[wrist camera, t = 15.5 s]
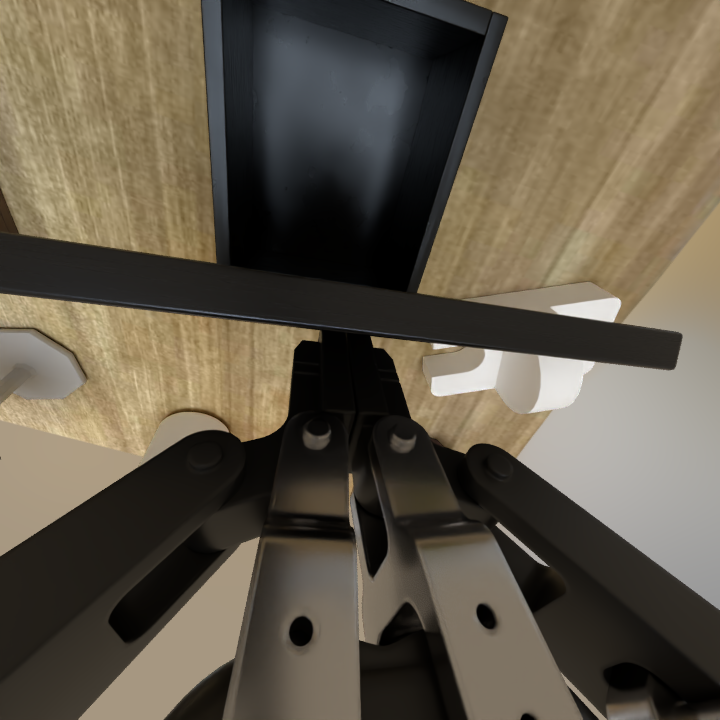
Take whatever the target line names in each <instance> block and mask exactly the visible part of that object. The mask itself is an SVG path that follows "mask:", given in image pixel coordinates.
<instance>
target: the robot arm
mask: <svg viewBox="0 0 720 720" xmlns="http://www.w3.org/2000/svg"><path fill="white" fill-rule="evenodd" d="M349 473H352V475H353V485H354V486H353V489H352V492H351V495H350V506H351V512H352V518H353V524H354V529H353V527H351V526H350V522H349ZM498 522H500V524H502V525H503V526H504V527H505V528H506V529H507V530H508V531H510V532H511V533H512V534H513V535H514V536H515V537H516V538H518V539H519V540H520V541H521V542H522V543H523V544H524V545H526V546H527V547H528V548H529V549H530V550H531V551H532V552H534V553H535V554H536V555H537V556H538V557H539V558H540V559H542V560H543V561H544V562H545V563H546V564H547V565H548V566H550V567H548V566H544V565H542V564H539V563H538V562H537V561H535V560H534V559H533V558H532V557H530V556H529V555H528V554H527V553H526V552H525V551H524V550H522V549H521V548H520V547H519V546H518V545H517V544H516V543H515V542H514V541H512V540H511V539H510V538H509V537H508V536H507V535H506V534H504V533H503V532H502V531H501V530H500V529H499V528H498V527H497V526H496V524H497V523H498ZM354 530H355V531H354ZM257 537H260V540H259V544H258V549H257V554H256V559H255V564H254V568H253V573H252V578H251V583H250V588H249V593H248V597H247V602H246V607H245V612H244V617H243V622H242V626H241V631H240V636H239V641H238V646H237V651H236V655H235V658H234V659H232V660H231V661H229V662H227V663H226V664H224V665H222V666H221V667H219V668H218V669H217V670H215V671H214V672H212V673H211V674H210V675H209V676H207V677H206V678H205V679H203V680H202V681H201V682H200V683H199V684H197V685H196V686H195V687H194V688H193V689H192V690H191V691H190V692H189V693H188V694H187V695H186V696H185V697H184V698H183V699H182V700H181V701H180V702H179V703H178V704H177V705H176V707H175V708H174V709H173V710H172V711H171V712H170V713H169V714H168V715H167V717H166V718H165V719H164V720H599V719H598V718H597V717H596V716H595V715H594V714H593V713H592V712H591V711H590V709H589V708H588V707H587V706H586V705H585V704H584V703H583V702H582V701H581V700H580V699H579V697H578V696H577V695H576V694H575V693H574V692H573V691H572V690H571V689H570V688H569V687H568V686H567V684H566V683H565V681H564V679H563V677H562V675H561V673H562V674H563V675H564V676H565V677H566V678H567V679H568V680H569V681H570V682H571V683H572V684H573V685H574V686H575V687H576V688H577V689H578V690H579V691H580V692H581V693H582V694H583V695H584V696H585V697H586V698H587V699H588V700H589V701H590V702H591V703H592V704H593V705H594V706H595V707H596V708H597V710H599V712H600V713H601V714H602V715H603V716H604V717H605V718H606V719H607V720H720V610H718V609H717V608H716V607H714V606H713V605H712V604H710V603H709V602H708V601H706V600H705V599H703V598H702V597H701V596H700V595H698V594H697V593H695V592H694V591H693V590H692V589H690V588H689V587H688V586H686V585H685V584H683V583H682V582H681V581H679V580H678V579H677V578H675V577H674V576H673V575H671V574H670V573H669V572H667V571H666V570H665V569H663V568H662V567H661V566H659V565H658V564H657V563H655V562H654V561H652V560H651V559H650V558H649V557H647V556H646V555H645V554H643V553H642V552H641V551H639V550H638V549H637V548H635V547H634V546H633V545H631V544H630V543H629V542H627V541H626V540H624V539H623V538H622V537H620V536H619V535H618V534H616V533H615V532H614V531H612V530H611V529H610V528H608V527H607V526H606V525H604V524H603V523H602V522H600V521H599V520H598V519H596V518H595V517H593V516H592V515H591V514H589V513H588V512H587V511H585V510H584V509H583V508H581V507H580V506H579V505H577V504H576V503H575V502H573V501H572V500H571V499H569V498H568V497H567V496H565V495H564V494H563V493H561V492H560V491H559V490H557V489H556V488H555V487H553V486H552V485H551V484H549V483H548V482H547V481H545V480H544V479H542V478H541V477H540V476H539V475H537V474H536V473H535V472H533V471H532V470H531V469H529V468H527V467H526V466H525V465H524V464H522V463H521V462H520V461H518V460H517V459H516V458H514V457H513V456H512V455H510V454H509V453H508V452H506V451H505V450H503V449H501V448H499V447H497V446H494V445H490V444H476V445H473V446H472V447H471V448H470V449H469V450H468V452H467V453H466V454H464V453H461V452H458V451H455V450H452V449H449V448H446V447H442V446H440V445H437V444H435V443H433V442H431V440H430V437H429V435H428V433H427V432H426V431H425V429H424V428H423V427H422V426H421V425H419V424H418V423H417V422H415V421H414V420H412V419H411V416H410V413H409V410H408V407H407V404H406V400H405V397H404V394H403V391H402V387H401V384H400V383H399V378H398V375H397V373H396V368H395V365H394V362H393V359H392V358H391V357H390V356H389V355H388V353H387V352H386V351H385V350H384V349H381V348H373V345H372V341H371V337H370V336H367V335H358V334H349V333H341V332H332V331H323V330H320V332H319V339H318V342H315V341H306V340H302V341H301V342H300V344H299V345H298V346H297V347H296V348H295V350H294V359H293V369H292V379H291V388H290V399H289V410H288V417H287V420H286V421H285V423H284V424H283V425H282V426H281V428H279V429H278V430H277V431H276V432H274V433H272V434H270V435H268V436H266V437H262V438H259V439H255V440H250V441H246V442H241V441H240V440H239V439H238V438H237V437H236V436H234V435H233V434H231V433H228V432H226V431H221V430H204V431H199V432H196V433H193V434H190V435H188V436H186V437H184V438H183V439H181V440H179V441H178V442H176V443H175V444H173V445H172V446H170V447H168V448H167V449H165V450H164V451H162V452H161V453H159V454H158V455H156V456H155V457H153V458H152V459H150V460H148V461H147V462H145V463H144V464H142V465H141V466H139V467H138V468H136V469H135V470H133V471H132V472H130V473H128V474H127V475H125V476H124V477H122V478H121V479H119V480H118V481H116V482H114V483H113V484H111V485H110V486H108V487H107V488H105V489H104V490H102V491H101V492H99V493H97V494H96V495H95V496H93V497H91V498H90V499H88V500H87V501H85V502H84V503H82V504H81V505H79V506H78V507H76V508H74V509H73V510H71V511H70V512H68V513H67V514H65V515H64V516H62V517H61V518H59V519H57V520H56V521H54V522H53V523H51V524H50V525H48V526H47V527H45V528H43V529H42V530H40V531H39V532H37V533H36V534H34V535H33V536H31V537H30V538H28V539H27V540H25V541H23V542H22V543H20V544H19V545H17V546H16V547H14V548H13V549H11V550H10V551H8V552H6V553H5V554H3V555H2V556H0V720H78V719H79V717H80V716H82V714H83V713H84V712H85V711H86V710H87V709H88V708H89V707H90V706H91V705H92V704H93V703H94V702H95V700H96V699H97V698H98V697H99V696H100V695H101V694H102V693H103V692H104V691H105V690H106V689H107V688H108V686H109V685H110V684H111V683H112V682H113V681H114V680H115V679H116V678H117V677H118V676H119V675H120V674H121V673H122V672H123V670H124V669H125V668H126V667H127V666H128V665H129V664H130V663H131V662H132V661H133V660H134V659H135V657H136V656H137V655H138V654H139V653H140V652H141V651H142V650H143V649H144V648H145V647H146V646H147V645H148V643H149V642H150V641H151V640H152V639H153V638H154V637H155V636H156V635H157V634H158V633H159V632H160V631H161V630H162V628H164V626H165V625H166V624H167V623H168V622H169V621H170V620H171V619H172V618H173V617H174V616H175V615H176V614H177V612H178V611H179V610H180V609H181V608H182V607H183V606H184V605H185V604H186V603H187V602H188V601H189V599H191V597H192V596H193V595H194V594H195V593H196V592H197V591H198V590H199V589H200V588H201V587H202V586H203V585H204V583H205V582H206V581H207V580H208V579H209V578H210V577H211V576H212V575H213V574H214V573H215V572H216V571H217V570H218V569H219V567H220V566H221V565H222V564H223V563H224V562H225V561H226V560H227V559H228V558H229V557H230V556H231V554H233V552H234V551H235V550H236V549H237V548H238V547H239V545H240V544H241V543H243V542H246V541H249V540H251V539H254V538H257ZM356 542H357V548H358V554H359V560H360V566H361V572H362V580H363V596H362V618H363V627H364V634H365V641H366V642H364V641H360V640H359V624H358V585H357V548H356Z"/></svg>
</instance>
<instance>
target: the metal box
mask: <svg viewBox="0 0 720 720" xmlns="http://www.w3.org/2000/svg"><path fill="white" fill-rule="evenodd" d="M201 12H202V28H203V45H204V61H205V78H206V94H207V111H208V127H209V144H210V161H211V177H212V194H213V210H214V227H215V243H216V260H217V264H224V265H230V266H237V267H244V268H251V269H257V270H264V271H271V272H277V273H284V274H291V275H298V276H304V277H311V278H318V279H325V280H331V281H338V282H345V283H351V284H358V285H365V286H372V287H378V288H385V289H392V290H398V291H405V292H412V293H417V291H418V288H419V285H420V282H421V279H422V276H423V273H424V270H425V267H426V264H427V261H428V258H429V255H430V252H431V249H432V246H433V243H434V240H435V237H436V234H437V231H438V228H439V225H440V222H441V219H442V216H443V213H444V210H445V207H446V204H447V201H448V198H449V195H450V192H451V189H452V186H453V183H454V180H455V177H456V174H457V171H458V168H459V165H460V162H461V159H462V156H463V153H464V150H465V147H466V144H467V141H468V138H469V135H470V132H471V129H472V126H473V123H474V120H475V117H476V114H477V111H478V108H479V105H480V102H481V99H482V96H483V93H484V90H485V87H486V84H487V81H488V78H489V75H490V72H491V69H492V66H493V63H494V60H495V57H496V54H497V51H498V48H499V45H500V42H501V39H502V36H503V33H504V30H505V27H506V24H507V21H508V17H507V16H505V15H502V14H499V13H497V12H492V10H489V9H486V8H484V7H481V6H478V5H475V4H473V3H470V2H467V1H464V0H201Z"/></svg>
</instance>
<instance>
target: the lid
mask: <svg viewBox="0 0 720 720" xmlns="http://www.w3.org/2000/svg"><path fill="white" fill-rule="evenodd" d="M0 293H3V294H11V295H20V296H29V297H37V298H46V299H55V300H63V301H72V302H81V303H89V304H98V305H107V306H115V307H124V308H133V309H141V310H150V311H159V312H167V313H176V314H185V315H193V316H202V317H211V318H219V319H228V320H237V321H245V322H254V323H263V324H271V325H280V326H289V327H297V328H306V329H315V330H323V331H332V332H341V333H349V334H358V335H367V336H375V337H384V338H393V339H401V340H410V341H419V342H427V343H436V344H445V345H453V346H462V347H471V348H479V349H488V350H497V351H505V352H514V353H523V354H531V355H540V356H549V357H557V358H566V359H575V360H583V361H592V362H601V363H610V364H618V365H628V366H636V367H644V368H653V369H663V370H673V369H675V367H676V364H677V359H678V355H679V350H680V346H681V342H682V334H681V333H679V332H674V331H667V330H661V329H654V328H646V327H640V326H634V325H627V324H620V323H614V322H607V321H600V320H593V319H587V318H580V317H573V316H567V315H560V314H553V313H546V312H540V311H533V310H526V309H519V308H513V307H506V306H499V305H493V304H486V303H479V302H472V301H466V300H459V299H452V298H446V297H439V296H432V295H425V294H419V293H412V292H405V291H398V290H392V289H385V288H378V287H372V286H365V285H358V284H351V283H345V282H338V281H331V280H325V279H318V278H311V277H304V276H298V275H291V274H284V273H277V272H271V271H264V270H257V269H251V268H244V267H237V266H230V265H224V264H217V263H210V262H204V261H197V260H190V259H183V258H177V257H170V256H163V255H156V254H150V253H143V252H136V251H130V250H123V249H116V248H109V247H103V246H96V245H89V244H83V243H76V242H69V241H62V240H56V239H49V238H42V237H35V236H29V235H22V234H15V233H9V232H2V231H0Z"/></svg>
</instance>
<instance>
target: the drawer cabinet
mask: <svg viewBox="0 0 720 720" xmlns="http://www.w3.org/2000/svg"><path fill="white" fill-rule="evenodd" d="M0 231H2V232H9V233H15V234H18V232H17V229H16V227H15V224H14V222H13V219H12V217H11V215H10V212H9V210H8V207H7V205H6V202H5V200H4V198H3V195H2V193H1V190H0Z"/></svg>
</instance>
